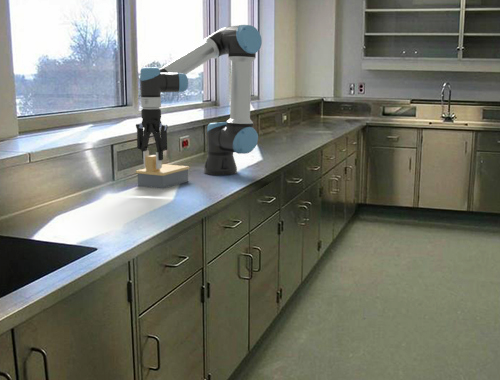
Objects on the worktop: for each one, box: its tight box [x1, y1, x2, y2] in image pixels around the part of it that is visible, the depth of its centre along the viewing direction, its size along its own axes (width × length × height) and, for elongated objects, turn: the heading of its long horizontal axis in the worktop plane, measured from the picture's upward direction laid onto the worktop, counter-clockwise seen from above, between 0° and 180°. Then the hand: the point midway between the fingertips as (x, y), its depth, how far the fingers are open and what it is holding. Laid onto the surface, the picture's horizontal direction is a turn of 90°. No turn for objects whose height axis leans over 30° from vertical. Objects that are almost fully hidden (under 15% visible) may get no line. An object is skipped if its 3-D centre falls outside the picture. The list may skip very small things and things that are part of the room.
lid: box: [135, 154, 190, 176], centre depth 236 cm, size 19×13×8 cm
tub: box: [137, 169, 189, 190], centre depth 237 cm, size 18×12×6 cm, turn 153°
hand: (152, 167), depth 230 cm, fingers open, 5 cm apart
